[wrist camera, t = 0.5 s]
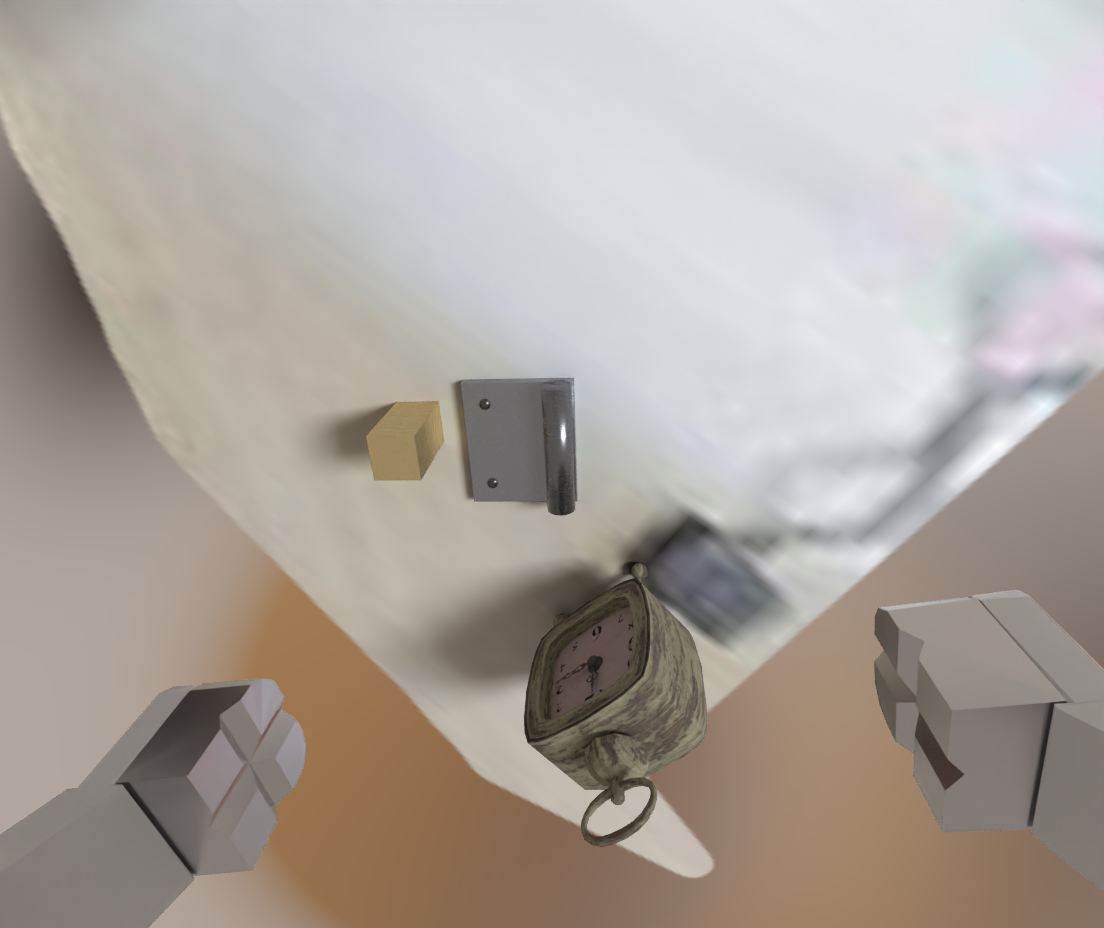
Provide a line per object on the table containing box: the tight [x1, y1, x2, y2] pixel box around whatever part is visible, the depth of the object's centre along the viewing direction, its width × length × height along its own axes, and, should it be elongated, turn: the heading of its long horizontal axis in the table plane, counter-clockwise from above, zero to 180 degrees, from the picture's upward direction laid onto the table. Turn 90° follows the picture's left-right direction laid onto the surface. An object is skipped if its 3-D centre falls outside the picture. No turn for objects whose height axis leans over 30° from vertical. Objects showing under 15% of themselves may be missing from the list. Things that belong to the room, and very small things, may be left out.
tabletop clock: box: [524, 563, 707, 847], centre depth 53 cm, size 14×9×25 cm, turn 132°
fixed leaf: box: [461, 378, 577, 515], centre depth 55 cm, size 10×12×4 cm
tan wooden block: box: [366, 401, 444, 480], centre depth 53 cm, size 4×4×8 cm
